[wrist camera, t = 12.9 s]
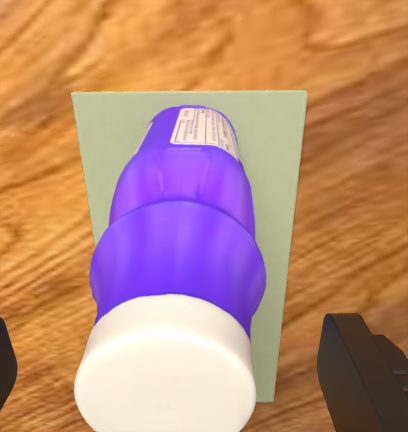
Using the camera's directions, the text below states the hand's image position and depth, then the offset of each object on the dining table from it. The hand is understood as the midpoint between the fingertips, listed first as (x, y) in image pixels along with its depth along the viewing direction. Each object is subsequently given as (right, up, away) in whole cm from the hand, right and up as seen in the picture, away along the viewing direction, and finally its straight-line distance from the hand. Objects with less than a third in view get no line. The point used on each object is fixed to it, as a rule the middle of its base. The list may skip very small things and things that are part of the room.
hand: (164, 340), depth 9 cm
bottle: (0, +7, +14) cm, 16 cm away
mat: (0, -1, +19) cm, 19 cm away
